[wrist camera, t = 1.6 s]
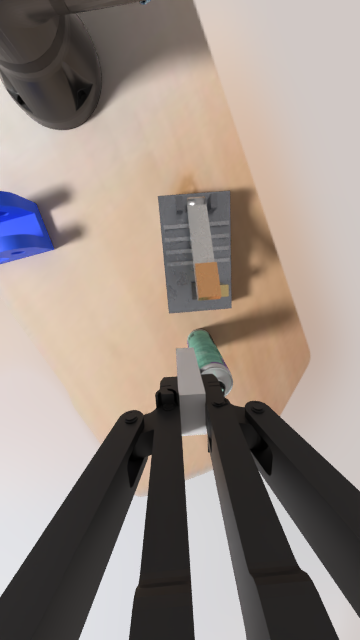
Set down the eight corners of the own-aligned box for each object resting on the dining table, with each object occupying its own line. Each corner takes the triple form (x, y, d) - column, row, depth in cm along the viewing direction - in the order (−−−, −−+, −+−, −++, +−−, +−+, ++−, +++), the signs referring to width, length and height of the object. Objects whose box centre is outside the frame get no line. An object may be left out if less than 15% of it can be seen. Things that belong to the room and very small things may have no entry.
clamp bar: (186, 204, 35) (186, 190, 32) (204, 202, 35) (206, 189, 32) (197, 304, 30) (199, 297, 28) (218, 302, 30) (221, 295, 28)
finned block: (159, 204, 40) (156, 188, 31) (222, 199, 40) (236, 182, 31) (169, 308, 45) (168, 318, 36) (225, 303, 45) (237, 312, 37)
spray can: (185, 351, 48) (195, 410, 28) (188, 328, 46) (200, 374, 27) (209, 352, 48) (235, 413, 29) (212, 329, 47) (242, 377, 27)
